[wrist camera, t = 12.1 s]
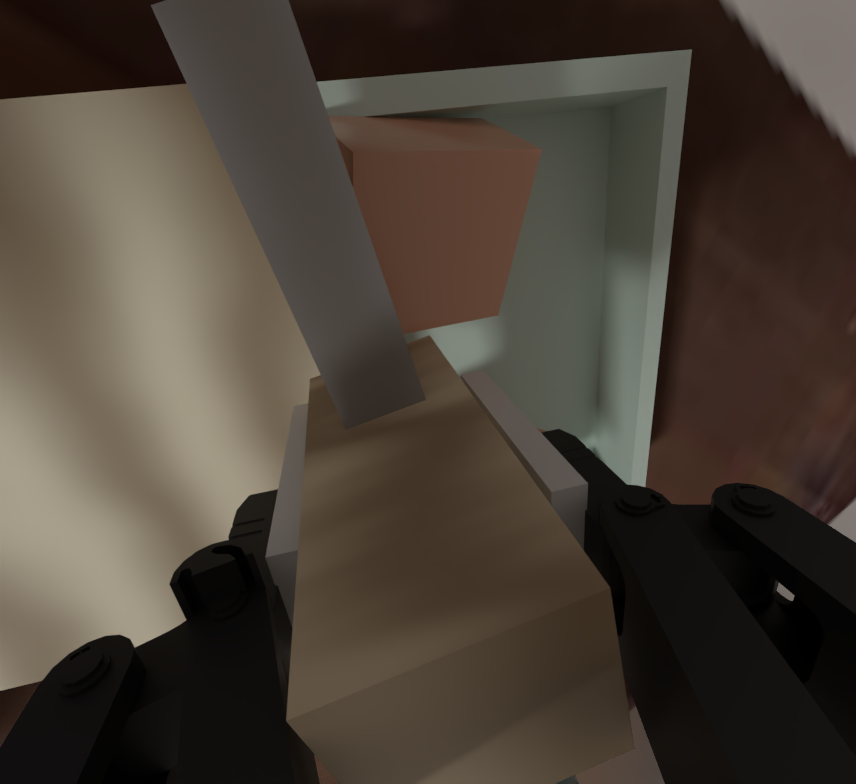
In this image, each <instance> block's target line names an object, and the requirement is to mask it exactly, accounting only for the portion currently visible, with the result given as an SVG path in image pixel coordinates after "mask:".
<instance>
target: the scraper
mask: <svg viewBox="0 0 856 784" xmlns="http://www.w3.org/2000/svg"><path fill="white" fill-rule="evenodd" d="M151 7H152V9H153V12H154V14H155V16H156V18H157V20H158V22H159V25H160V27H161V29H162V31H163V33H164V35H165V38H166V40H167V42H168V44H169V46H170V48H171V51H172V53H173V55H174V57H175V59H176V62H177V64H178V66H179V68H180V70H181V72H182V75H183V77H184V79H185V81H186V83H187V85H188V88H189V90H190V92H191V94H192V96H193V98H194V101H195V103H196V105H197V107H198V109H199V111H200V114H201V116H202V118H203V120H204V122H205V124H206V127H207V129H208V131H209V133H210V135H211V138H212V140H213V142H214V144H215V146H216V148H217V151H218V153H219V155H220V157H221V159H222V161H223V164H224V166H225V168H226V170H227V172H228V174H229V177H230V179H231V181H232V183H233V185H234V187H235V190H236V192H237V194H238V196H239V198H240V201H241V203H242V205H243V207H244V209H245V211H246V214H247V216H248V218H249V220H250V222H251V224H252V227H253V229H254V231H255V233H256V235H257V237H258V240H259V242H260V244H261V246H262V248H263V250H264V253H265V255H266V257H267V259H268V261H269V264H270V266H271V268H272V270H273V272H274V274H275V277H276V279H277V281H278V283H279V285H280V287H281V290H282V292H283V294H284V296H285V298H286V300H287V303H288V305H289V307H290V309H291V311H292V313H293V316H294V318H295V320H296V322H297V324H298V327H299V329H300V331H301V333H302V335H303V337H304V340H305V342H306V344H307V346H308V348H309V350H310V353H311V355H312V357H313V359H314V361H315V363H316V366H317V368H318V370H319V372H320V374H321V375H319V376H316V377H314V378H311V379H310V385H309V400H308V414H307V428H306V443H305V457H304V471H303V486H302V500H301V514H300V529H299V543H298V557H297V572H296V586H295V600H294V615H293V629H292V643H291V658H290V672H289V686H288V701H287V715H286V722H287V723H288V724H289V725H290V726H291V727H292V729H293V730H294V731H295V732H296V733H297V734H298V736H299V737H300V738H301V739H302V740H303V741H304V742H305V744H306V745H307V746H308V747H309V748H310V749H311V751H312V752H313V753H314V754H315V755H316V756H317V758H318V759H319V760H320V761H321V762H322V763H323V765H324V766H325V767H326V768H327V769H328V770H329V772H330V773H331V774H332V775H333V776H334V777H335V779H336V780H337V781H338V782H339V783H340V784H555V783H557V782H560V781H562V780H564V779H566V778H569V777H571V776H573V775H576V774H578V773H580V772H582V771H585V770H587V769H589V768H591V767H594V766H596V765H598V764H601V763H603V762H605V761H608V760H610V759H612V758H615V757H617V756H619V755H621V754H624V753H626V752H628V751H631V750H633V749H635V748H634V741H633V735H632V728H631V721H630V715H629V708H628V701H627V695H626V688H625V682H624V675H623V668H622V662H621V655H620V649H619V642H618V635H617V629H616V622H615V616H614V609H613V603H612V596H611V589H610V587H609V585H608V584H607V582H606V581H605V580H604V578H603V577H602V575H601V574H600V573H599V571H598V570H597V568H596V567H595V566H594V564H593V563H592V561H591V560H590V559H589V557H588V556H587V554H586V553H585V552H584V550H583V549H582V547H581V546H580V545H579V543H578V542H577V540H576V539H575V538H574V536H573V535H572V533H571V532H570V531H569V529H568V528H567V526H566V525H565V524H564V522H563V521H562V520H561V518H560V517H559V515H558V514H557V513H556V511H555V510H554V508H553V507H552V506H551V504H550V503H549V501H548V500H547V499H546V497H545V496H544V494H543V493H542V492H541V490H540V489H539V487H538V486H537V485H536V483H535V482H534V480H533V479H532V478H531V476H530V475H529V473H528V472H527V471H526V469H525V468H524V466H523V465H522V464H521V462H520V461H519V459H518V458H517V457H516V455H515V454H514V452H513V451H512V450H511V448H510V447H509V445H508V444H507V443H506V441H505V440H504V438H503V437H502V436H501V434H500V433H499V431H498V430H497V429H496V427H495V426H494V424H493V423H492V422H491V420H490V419H489V417H488V416H487V415H486V413H485V412H484V410H483V409H482V408H481V406H480V405H479V403H478V402H477V401H476V399H475V398H474V396H473V395H472V394H471V392H470V391H469V389H468V388H467V387H466V385H465V384H464V383H463V381H462V380H461V378H460V377H459V376H458V374H457V373H456V371H455V370H454V369H453V367H452V366H451V364H450V363H449V362H448V360H447V359H446V357H445V356H444V355H443V353H442V352H441V350H440V349H439V348H438V346H437V345H436V343H435V342H434V341H433V339H432V338H431V336H430V335H429V336H426V337H423V338H421V339H418V340H415V341H412V342H410V343H406V340H405V337H404V334H403V331H402V329H401V326H400V323H399V320H398V317H397V314H396V311H395V308H394V305H393V302H392V299H391V297H390V294H389V291H388V288H387V285H386V282H385V279H384V276H383V273H382V270H381V268H380V265H379V262H378V259H377V256H376V253H375V250H374V247H373V244H372V241H371V238H370V236H369V233H368V230H367V227H366V224H365V221H364V218H363V215H362V212H361V209H360V207H359V204H358V201H357V198H356V195H355V192H354V189H353V186H352V183H351V180H350V177H349V175H348V172H347V169H346V166H345V163H344V160H343V157H342V154H341V151H340V148H339V146H338V143H337V140H336V137H335V134H334V131H333V128H332V125H331V122H330V119H329V116H328V114H327V111H326V108H325V105H324V102H323V99H322V96H321V93H320V90H319V87H318V85H317V82H316V79H315V76H314V73H313V70H312V67H311V64H310V61H309V58H308V56H307V53H306V50H305V47H304V44H303V41H302V38H301V35H300V32H299V29H298V26H297V24H296V21H295V18H294V15H293V12H292V9H291V6H290V3H289V0H165V1H162V2H159V3H155V4H152V5H151Z"/></svg>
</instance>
